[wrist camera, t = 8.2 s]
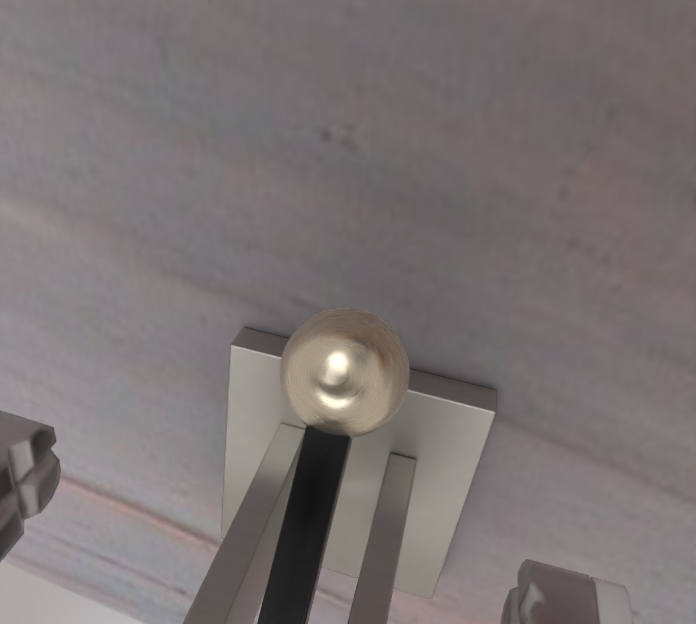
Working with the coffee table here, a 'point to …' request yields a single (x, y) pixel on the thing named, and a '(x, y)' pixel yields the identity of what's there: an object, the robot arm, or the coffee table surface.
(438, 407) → the bracket
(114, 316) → the coffee table surface
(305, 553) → the lever
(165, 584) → the coffee table surface
